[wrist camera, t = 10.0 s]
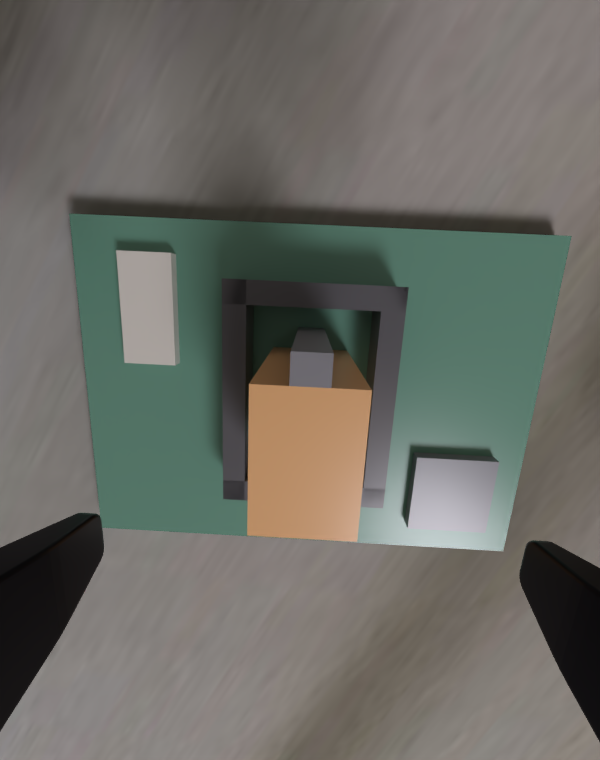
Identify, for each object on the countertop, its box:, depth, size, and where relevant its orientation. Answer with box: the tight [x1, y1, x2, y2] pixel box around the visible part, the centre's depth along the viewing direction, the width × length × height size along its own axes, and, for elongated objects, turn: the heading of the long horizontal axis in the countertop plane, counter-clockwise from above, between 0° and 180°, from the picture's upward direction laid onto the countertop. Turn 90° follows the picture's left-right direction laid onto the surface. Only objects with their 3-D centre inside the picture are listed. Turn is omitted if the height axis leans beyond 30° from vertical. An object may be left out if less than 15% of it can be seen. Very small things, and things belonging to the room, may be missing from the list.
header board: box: [69, 214, 571, 551], centre depth 17 cm, size 22×16×3 cm
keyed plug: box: [247, 327, 372, 542], centre depth 14 cm, size 4×6×7 cm, turn 177°
